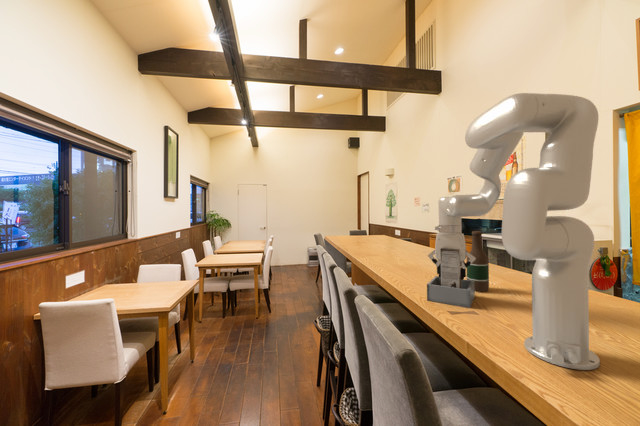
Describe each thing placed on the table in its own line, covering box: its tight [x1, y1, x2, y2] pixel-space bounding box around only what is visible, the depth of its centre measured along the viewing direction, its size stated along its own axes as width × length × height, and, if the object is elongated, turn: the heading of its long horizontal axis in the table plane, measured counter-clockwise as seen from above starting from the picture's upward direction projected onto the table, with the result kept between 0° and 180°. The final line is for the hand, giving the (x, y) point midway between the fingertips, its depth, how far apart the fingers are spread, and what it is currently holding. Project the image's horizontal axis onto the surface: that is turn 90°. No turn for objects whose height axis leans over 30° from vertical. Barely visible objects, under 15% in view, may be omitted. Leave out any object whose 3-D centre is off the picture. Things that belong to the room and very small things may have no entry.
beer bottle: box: [466, 230, 490, 293], centre depth 107 cm, size 8×8×24 cm
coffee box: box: [440, 248, 461, 289], centre depth 97 cm, size 9×6×16 cm
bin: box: [426, 275, 476, 309], centre depth 98 cm, size 14×14×6 cm
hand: (451, 277), depth 97 cm, fingers closed on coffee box, 6 cm apart
